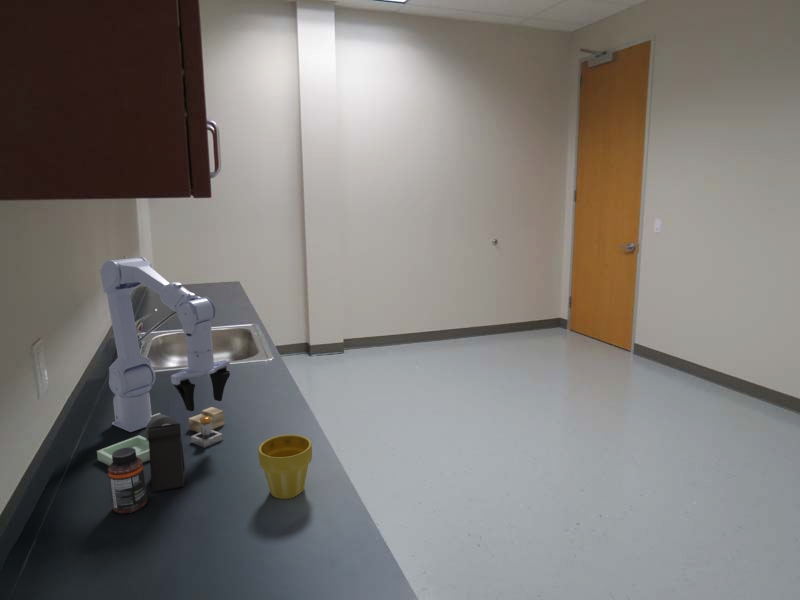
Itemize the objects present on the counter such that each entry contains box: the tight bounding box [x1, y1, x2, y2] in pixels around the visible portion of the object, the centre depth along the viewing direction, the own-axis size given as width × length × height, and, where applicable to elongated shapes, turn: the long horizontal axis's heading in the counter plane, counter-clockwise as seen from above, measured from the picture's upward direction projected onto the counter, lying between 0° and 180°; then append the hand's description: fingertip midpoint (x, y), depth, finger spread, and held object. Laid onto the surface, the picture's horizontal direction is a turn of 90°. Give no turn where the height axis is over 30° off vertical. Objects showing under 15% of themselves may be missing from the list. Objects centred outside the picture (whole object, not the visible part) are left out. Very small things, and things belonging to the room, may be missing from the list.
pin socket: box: [190, 429, 224, 448], centre depth 131 cm, size 5×5×2 cm
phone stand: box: [148, 423, 186, 494], centre depth 112 cm, size 9×6×12 cm, turn 19°
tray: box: [96, 434, 150, 467], centre depth 124 cm, size 10×10×2 cm
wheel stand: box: [144, 412, 178, 440], centre depth 130 cm, size 5×7×7 cm
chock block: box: [188, 406, 225, 434], centre depth 140 cm, size 5×7×4 cm
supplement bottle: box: [107, 448, 148, 514], centre depth 103 cm, size 6×6×11 cm
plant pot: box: [258, 434, 313, 500], centre depth 108 cm, size 10×10×10 cm
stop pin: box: [200, 416, 213, 440], centre depth 131 cm, size 2×2×6 cm
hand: (204, 405), depth 128 cm, fingers open, 7 cm apart
